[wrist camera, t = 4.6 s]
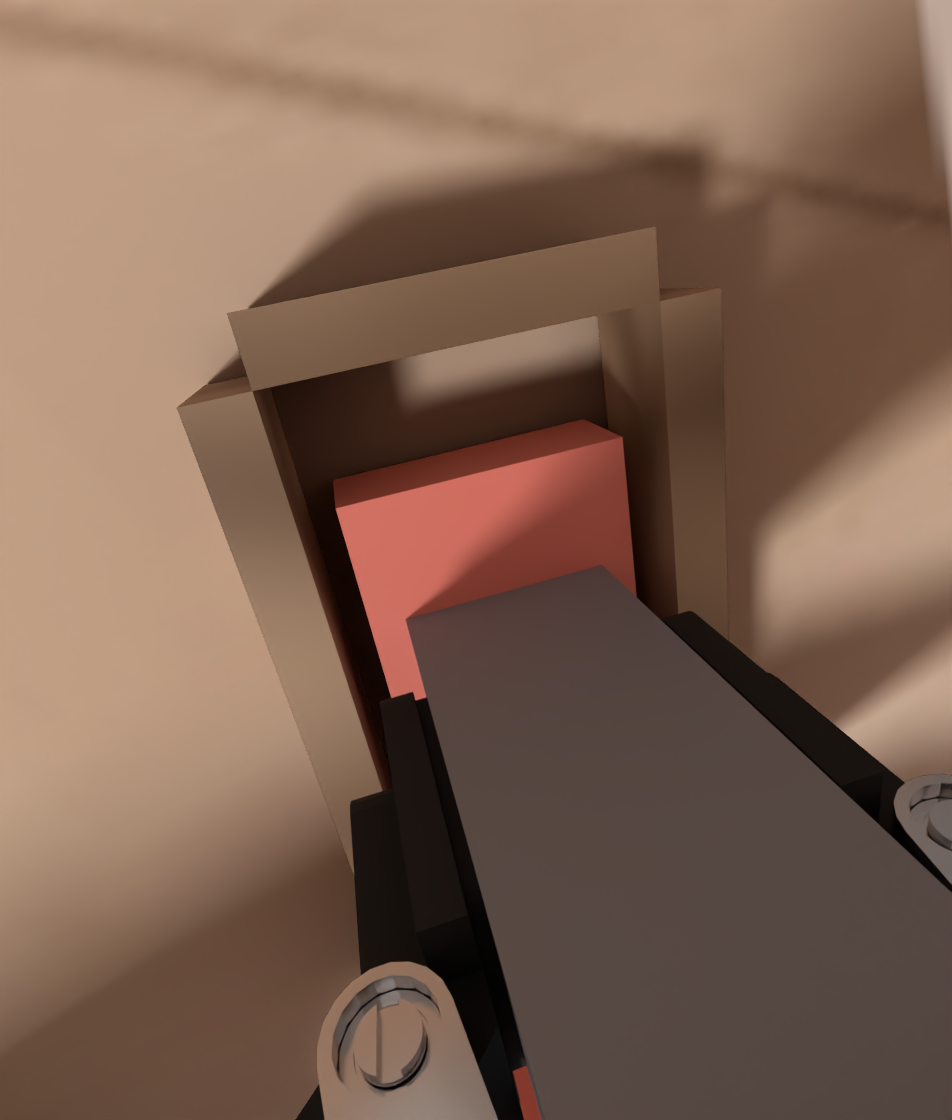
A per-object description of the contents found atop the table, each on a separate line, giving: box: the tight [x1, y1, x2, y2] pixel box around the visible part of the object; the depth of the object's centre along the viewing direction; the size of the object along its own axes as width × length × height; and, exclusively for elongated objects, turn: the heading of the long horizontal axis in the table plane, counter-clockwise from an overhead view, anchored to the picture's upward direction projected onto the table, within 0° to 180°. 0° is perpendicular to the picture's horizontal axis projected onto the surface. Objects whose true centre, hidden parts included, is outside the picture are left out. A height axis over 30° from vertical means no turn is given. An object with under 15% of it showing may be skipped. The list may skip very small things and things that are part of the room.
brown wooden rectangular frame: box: [177, 226, 729, 874], centre depth 13 cm, size 16×8×2 cm, turn 11°
